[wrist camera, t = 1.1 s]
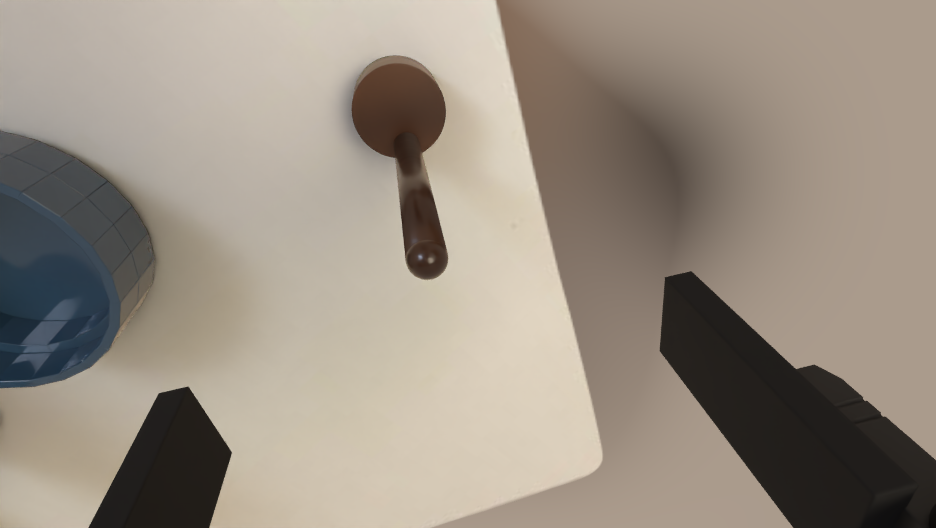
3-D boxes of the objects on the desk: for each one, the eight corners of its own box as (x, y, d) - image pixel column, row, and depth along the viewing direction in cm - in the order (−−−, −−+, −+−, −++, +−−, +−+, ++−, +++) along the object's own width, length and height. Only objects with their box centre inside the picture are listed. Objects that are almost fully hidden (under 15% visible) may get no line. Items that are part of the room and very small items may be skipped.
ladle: (342, 65, 30) (308, 161, 15) (431, 47, 30) (486, 123, 15) (366, 151, 33) (359, 304, 18) (447, 134, 33) (506, 270, 18)
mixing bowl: (-191, 154, 28) (-318, 196, 23) (78, 102, 29) (14, 130, 23) (-10, 349, 36) (-73, 411, 31) (195, 303, 37) (167, 357, 32)
